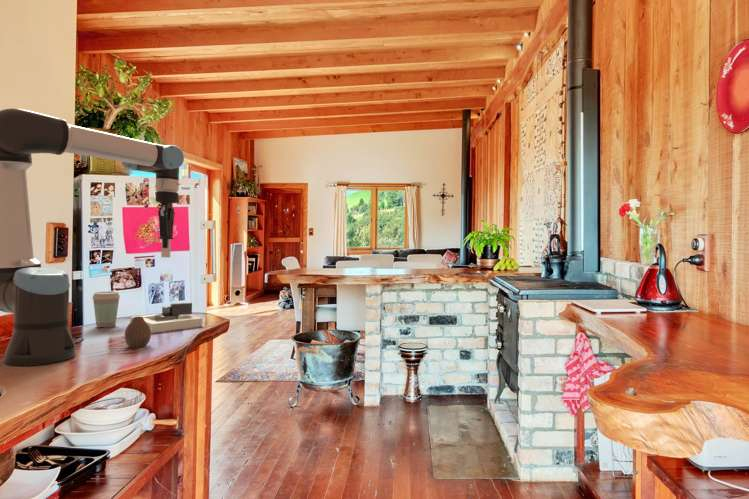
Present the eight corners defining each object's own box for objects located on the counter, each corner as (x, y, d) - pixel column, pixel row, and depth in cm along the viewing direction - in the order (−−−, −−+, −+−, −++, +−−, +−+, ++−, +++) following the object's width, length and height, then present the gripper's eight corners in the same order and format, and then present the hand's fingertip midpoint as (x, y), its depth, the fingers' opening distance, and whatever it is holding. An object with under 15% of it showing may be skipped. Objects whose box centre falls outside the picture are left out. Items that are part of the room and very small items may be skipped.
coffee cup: (124, 324, 168) (125, 291, 168) (109, 329, 159) (109, 294, 159) (102, 323, 169) (103, 290, 168) (86, 328, 160) (86, 293, 160)
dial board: (151, 333, 156) (152, 323, 155) (130, 325, 167) (130, 316, 167) (202, 326, 169) (202, 317, 169) (178, 319, 181) (178, 311, 181)
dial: (156, 323, 163) (157, 306, 162) (152, 319, 169) (152, 303, 169) (193, 320, 170) (194, 303, 170) (188, 317, 176) (188, 301, 176)
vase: (146, 342, 142) (146, 314, 141) (154, 347, 137) (154, 317, 136) (121, 346, 137) (121, 316, 137) (128, 350, 132) (129, 320, 132)
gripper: (173, 190, 160) (172, 258, 161) (182, 193, 173) (181, 256, 174) (150, 189, 159) (149, 257, 160) (161, 192, 172) (159, 256, 172)
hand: (165, 257), depth 167 cm, fingers closed
